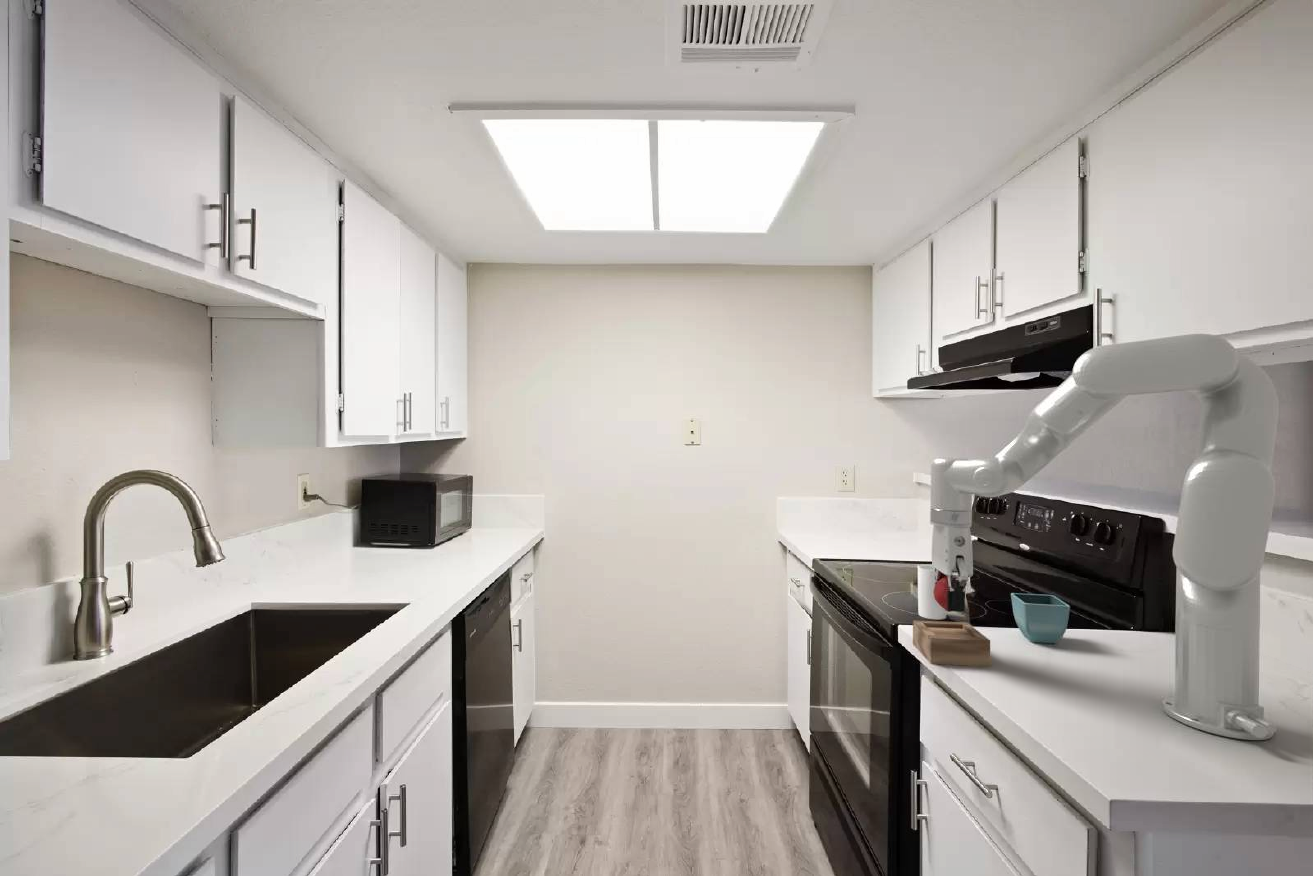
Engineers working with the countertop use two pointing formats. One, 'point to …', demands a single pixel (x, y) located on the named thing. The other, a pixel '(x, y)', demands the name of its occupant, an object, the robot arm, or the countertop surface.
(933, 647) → the open walnut box
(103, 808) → the countertop surface
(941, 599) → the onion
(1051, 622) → the flower pot
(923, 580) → the mug
